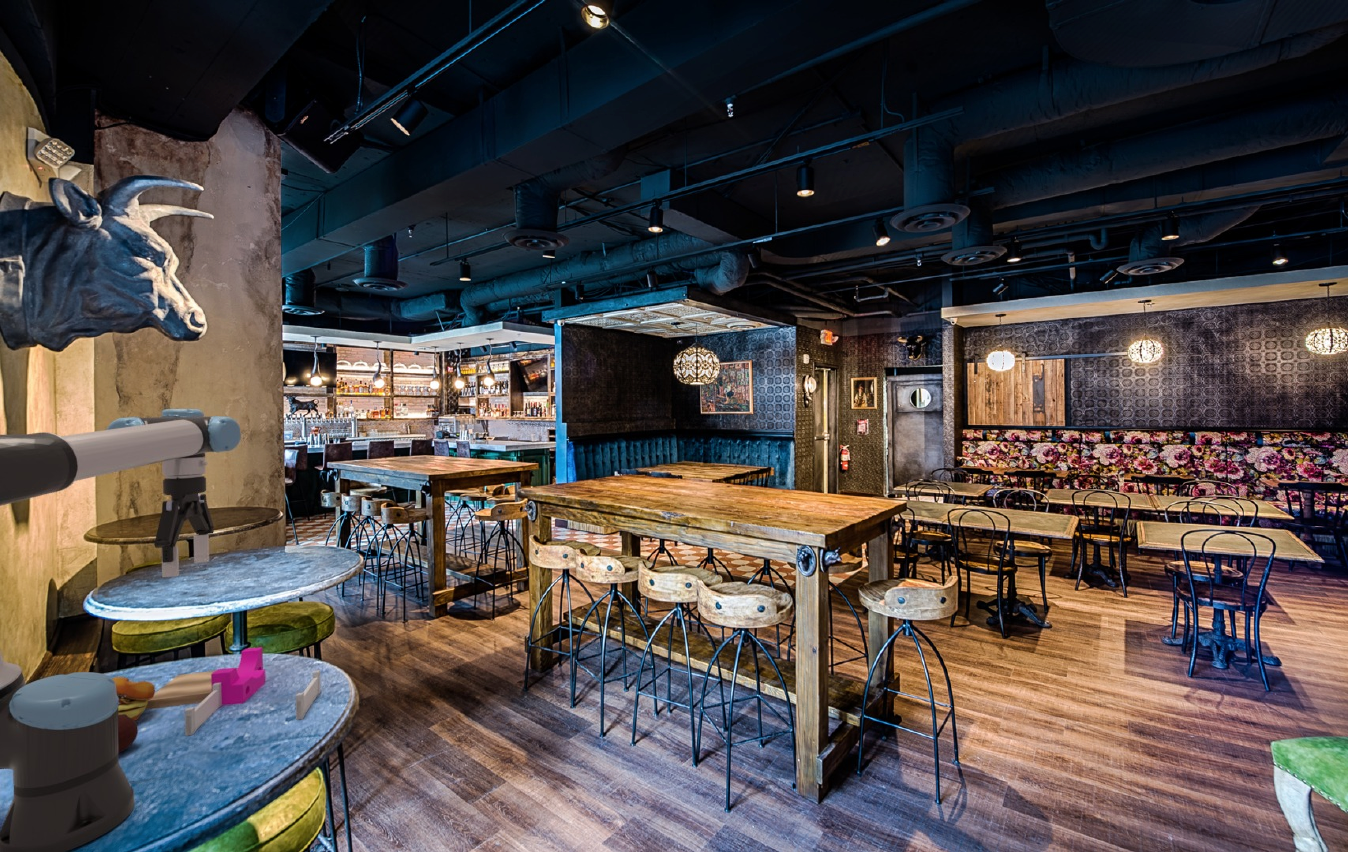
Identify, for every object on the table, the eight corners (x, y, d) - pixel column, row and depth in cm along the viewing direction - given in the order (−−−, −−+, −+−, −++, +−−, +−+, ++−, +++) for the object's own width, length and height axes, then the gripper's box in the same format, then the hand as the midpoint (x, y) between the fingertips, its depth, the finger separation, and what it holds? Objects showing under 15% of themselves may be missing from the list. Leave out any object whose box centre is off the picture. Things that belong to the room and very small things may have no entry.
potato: (87, 769, 107) (86, 731, 106) (83, 754, 112) (82, 718, 112) (141, 751, 112) (140, 716, 112) (135, 737, 117) (134, 703, 117)
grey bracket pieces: (302, 718, 124) (301, 694, 124) (185, 735, 118) (184, 710, 118) (320, 691, 136) (320, 669, 136) (215, 705, 130) (214, 683, 130)
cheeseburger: (62, 726, 119) (86, 674, 122) (123, 724, 128) (144, 675, 131) (89, 733, 115) (113, 678, 119) (150, 730, 124) (170, 680, 128)
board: (219, 700, 133) (218, 691, 133) (145, 709, 129) (144, 700, 129) (244, 674, 146) (244, 666, 146) (178, 682, 142) (178, 674, 142)
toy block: (243, 703, 131) (242, 671, 131) (212, 707, 130) (211, 674, 130) (274, 675, 146) (273, 646, 146) (246, 678, 145) (245, 648, 145)
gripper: (174, 480, 121) (177, 581, 121) (228, 471, 145) (230, 555, 145) (131, 482, 119) (133, 585, 119) (193, 472, 142) (195, 558, 143)
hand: (187, 569), depth 132 cm, fingers open, 13 cm apart
